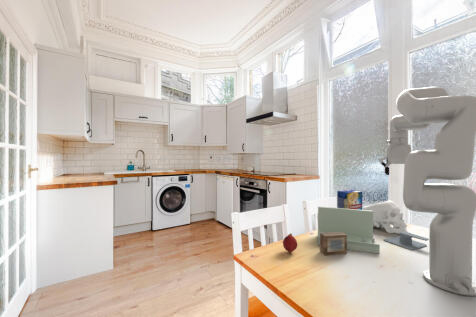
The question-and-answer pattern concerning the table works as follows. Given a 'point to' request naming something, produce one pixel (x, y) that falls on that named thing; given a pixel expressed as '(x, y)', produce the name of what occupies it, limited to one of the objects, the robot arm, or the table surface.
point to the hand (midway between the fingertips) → (398, 175)
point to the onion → (290, 243)
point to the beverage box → (349, 199)
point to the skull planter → (387, 216)
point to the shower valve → (407, 241)
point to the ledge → (349, 227)
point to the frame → (333, 243)
